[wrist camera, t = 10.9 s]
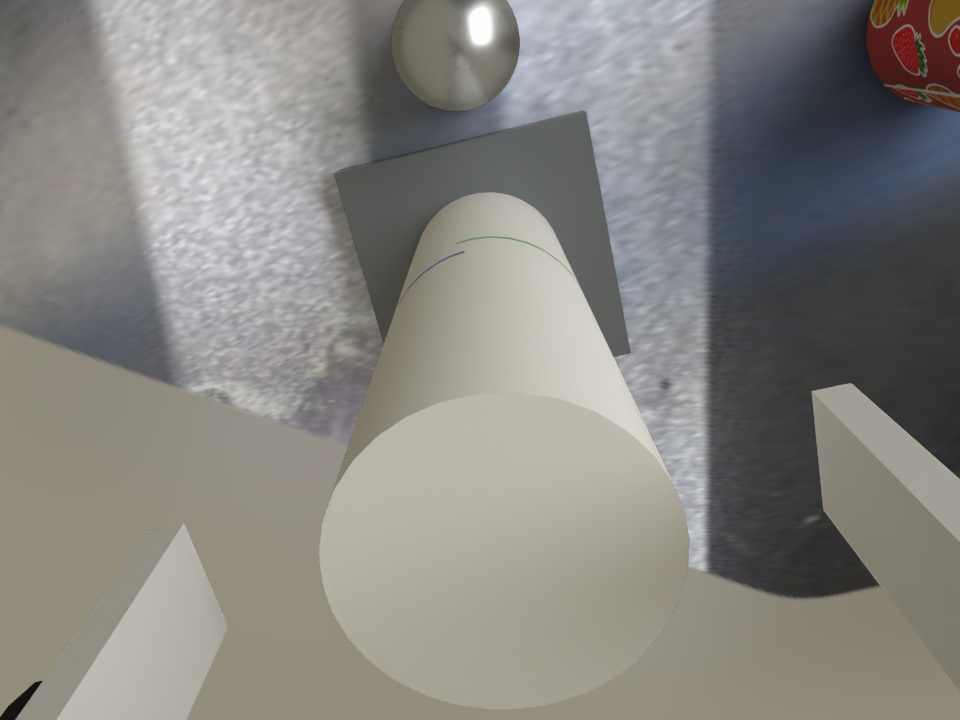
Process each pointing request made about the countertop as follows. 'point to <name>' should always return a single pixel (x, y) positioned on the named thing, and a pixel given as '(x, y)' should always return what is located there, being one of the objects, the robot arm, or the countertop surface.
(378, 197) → the plate
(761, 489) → the countertop surface
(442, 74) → the grey metal tin
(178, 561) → the robot arm
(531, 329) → the cylindrical container
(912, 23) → the smoothie
